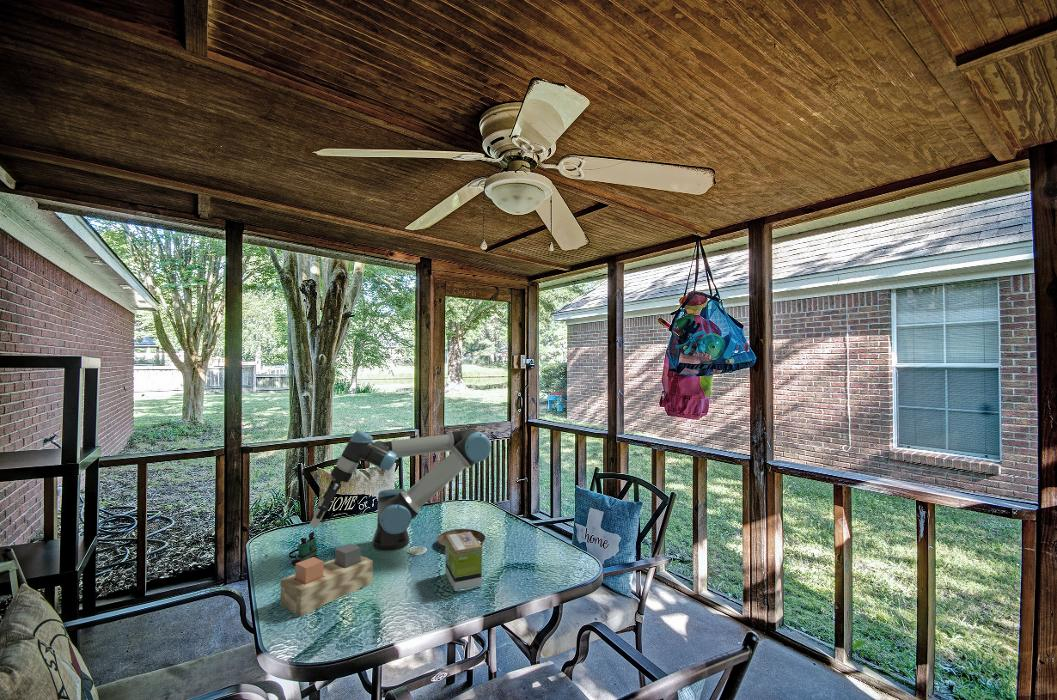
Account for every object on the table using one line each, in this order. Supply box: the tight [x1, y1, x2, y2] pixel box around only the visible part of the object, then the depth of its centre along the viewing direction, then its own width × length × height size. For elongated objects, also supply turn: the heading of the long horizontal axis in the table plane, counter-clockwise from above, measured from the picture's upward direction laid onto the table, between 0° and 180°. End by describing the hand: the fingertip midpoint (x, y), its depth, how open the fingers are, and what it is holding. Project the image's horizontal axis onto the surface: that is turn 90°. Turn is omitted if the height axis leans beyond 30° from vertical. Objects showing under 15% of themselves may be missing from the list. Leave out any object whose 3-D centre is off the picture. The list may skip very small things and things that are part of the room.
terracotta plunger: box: [294, 557, 325, 585], centre depth 146 cm, size 6×6×8 cm
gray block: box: [334, 543, 362, 568], centre depth 158 cm, size 6×6×8 cm
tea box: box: [444, 532, 483, 591], centre depth 163 cm, size 15×10×15 cm, turn 23°
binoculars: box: [288, 532, 318, 565], centre depth 176 cm, size 9×11×10 cm
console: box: [279, 555, 374, 618], centre depth 152 cm, size 26×12×8 cm, turn 146°
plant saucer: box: [436, 528, 486, 550], centre depth 195 cm, size 21×21×3 cm
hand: (314, 520), depth 172 cm, fingers open, 13 cm apart
